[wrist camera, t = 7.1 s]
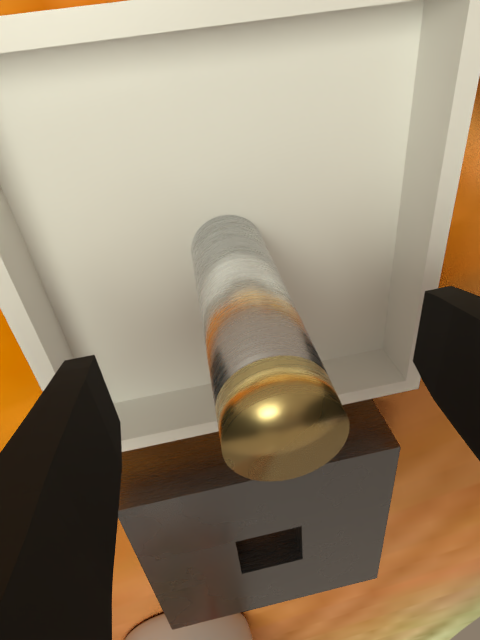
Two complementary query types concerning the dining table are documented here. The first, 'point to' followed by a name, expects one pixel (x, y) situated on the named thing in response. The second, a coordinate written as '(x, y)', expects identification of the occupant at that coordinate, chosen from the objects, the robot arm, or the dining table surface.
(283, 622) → the dining table surface
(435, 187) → the tray
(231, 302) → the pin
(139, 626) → the fruit juice
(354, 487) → the block
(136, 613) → the dining table surface
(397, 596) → the dining table surface
